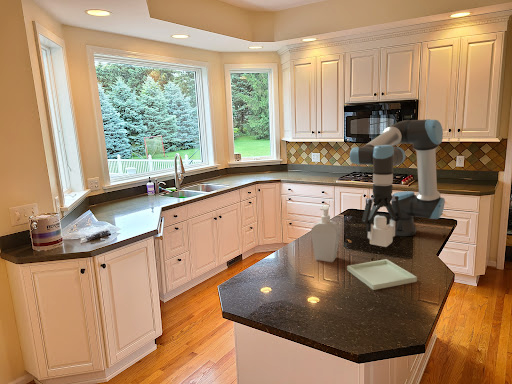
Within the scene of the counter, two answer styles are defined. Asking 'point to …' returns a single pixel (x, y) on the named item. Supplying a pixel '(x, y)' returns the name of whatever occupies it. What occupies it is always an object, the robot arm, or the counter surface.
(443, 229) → the counter surface
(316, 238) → the soap bottle
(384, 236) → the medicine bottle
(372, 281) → the tray
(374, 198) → the robot arm
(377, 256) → the counter surface
